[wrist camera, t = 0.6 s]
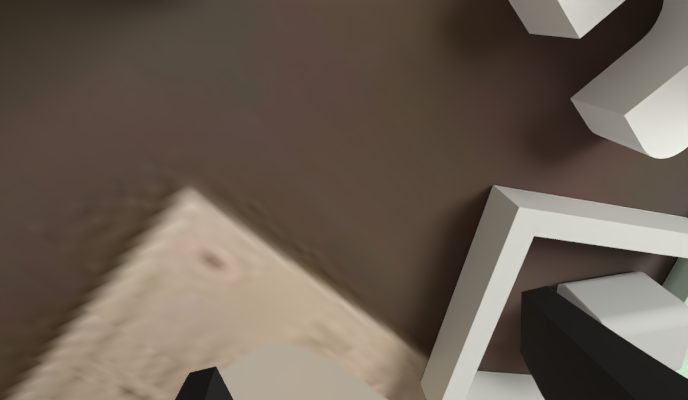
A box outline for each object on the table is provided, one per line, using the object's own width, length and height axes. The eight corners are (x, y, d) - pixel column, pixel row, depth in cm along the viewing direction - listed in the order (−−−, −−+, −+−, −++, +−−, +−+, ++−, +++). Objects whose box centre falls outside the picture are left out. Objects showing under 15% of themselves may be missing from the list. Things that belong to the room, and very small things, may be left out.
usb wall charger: (622, 323, 25) (678, 377, 22) (507, 343, 25) (545, 401, 21) (633, 265, 24) (697, 312, 20) (511, 285, 23) (553, 337, 19)
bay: (586, 394, 27) (614, 429, 25) (420, 382, 25) (433, 420, 23) (686, 217, 23) (730, 240, 20) (493, 185, 20) (519, 207, 18)
